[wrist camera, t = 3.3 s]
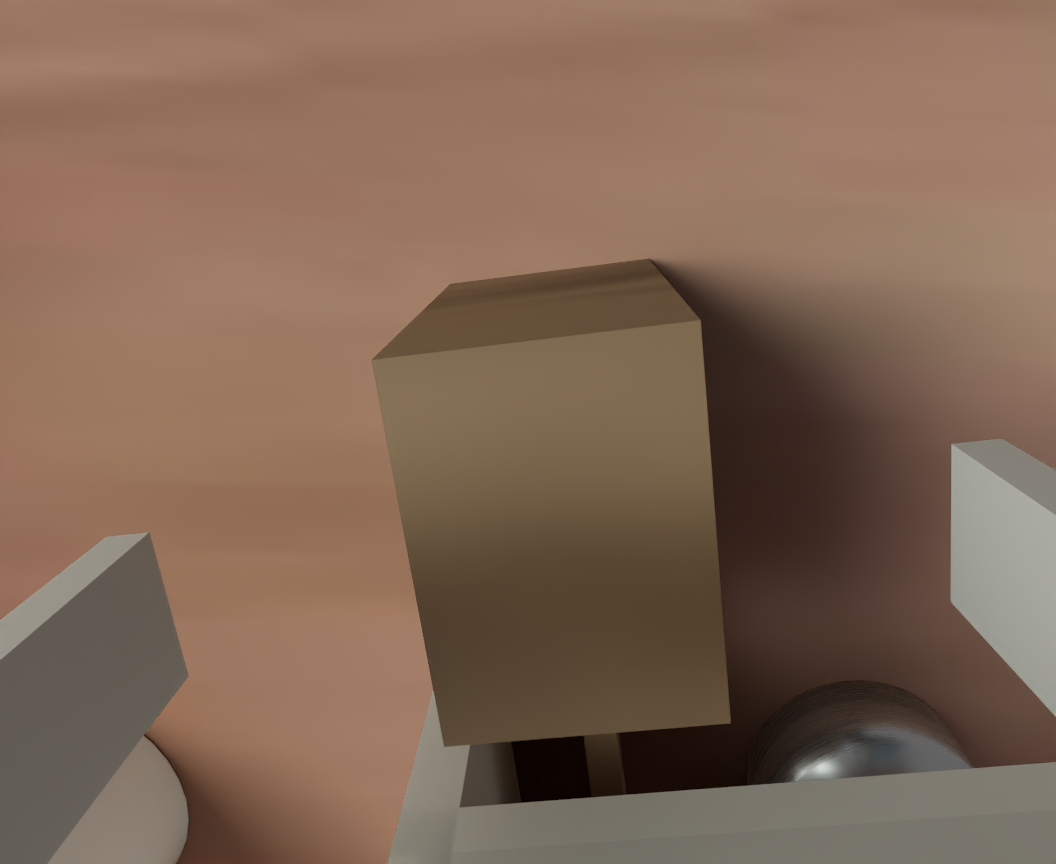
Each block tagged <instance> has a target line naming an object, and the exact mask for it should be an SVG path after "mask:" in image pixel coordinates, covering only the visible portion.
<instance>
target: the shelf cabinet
mask: <svg viewBox="0 0 1056 864" xmlns="http://www.w3.org/2000/svg"><path fill="white" fill-rule="evenodd" d="M387 864H1056V762H1050V763H1036V764H1023V765H1010V766H997V767H984V768H971V769H958V770H945V771H932V772H919V773H906V774H893V775H879V776H866V777H853V778H840V779H827V780H814V781H801V782H788V783H775V784H762V785H749V786H736V787H723V788H709V789H696V790H683V791H670V792H657V793H644V794H631V795H618V796H605V797H592V798H579V799H566V800H552V801H539V802H526V803H521V798H520V792H519V786H518V780H517V773H516V767H515V761H514V755H513V749H512V742H511V741H510V742H498V743H486V744H474V745H461V746H449V747H444V744H443V739H442V733H441V728H440V723H439V717H438V712H437V707H436V701H435V696H434V691H433V692H432V696H431V700H430V703H429V707H428V711H427V715H426V719H425V722H424V726H423V730H422V734H421V737H420V741H419V745H418V749H417V753H416V756H415V760H414V764H413V768H412V772H411V775H410V779H409V783H408V787H407V791H406V794H405V798H404V802H403V806H402V810H401V813H400V817H399V821H398V825H397V828H396V832H395V836H394V840H393V844H392V847H391V851H390V855H389V859H388V863H387Z"/></svg>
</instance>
